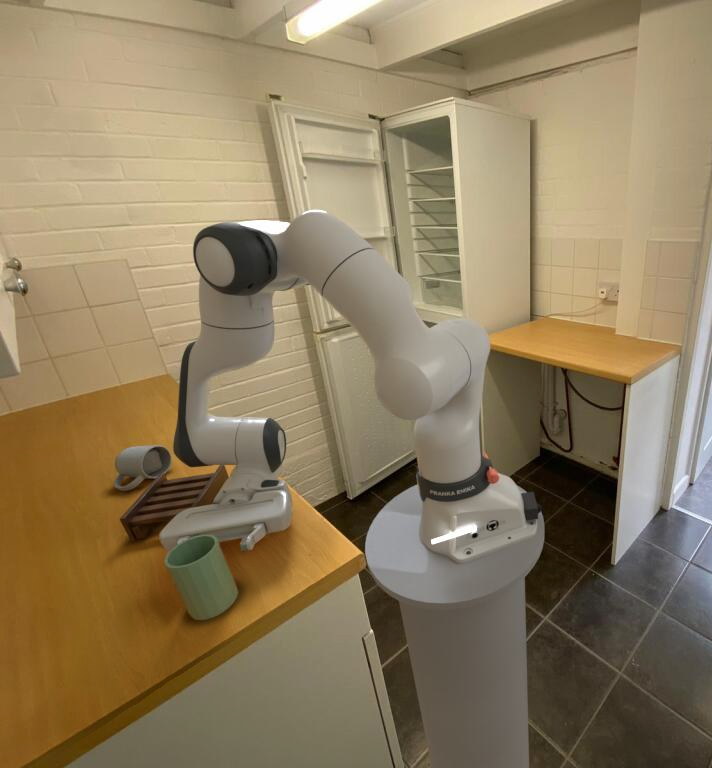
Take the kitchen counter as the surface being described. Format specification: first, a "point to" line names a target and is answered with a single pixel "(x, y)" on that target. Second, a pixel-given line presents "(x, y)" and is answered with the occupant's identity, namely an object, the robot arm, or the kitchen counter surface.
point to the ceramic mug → (141, 464)
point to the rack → (170, 500)
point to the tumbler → (202, 576)
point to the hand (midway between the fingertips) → (213, 553)
